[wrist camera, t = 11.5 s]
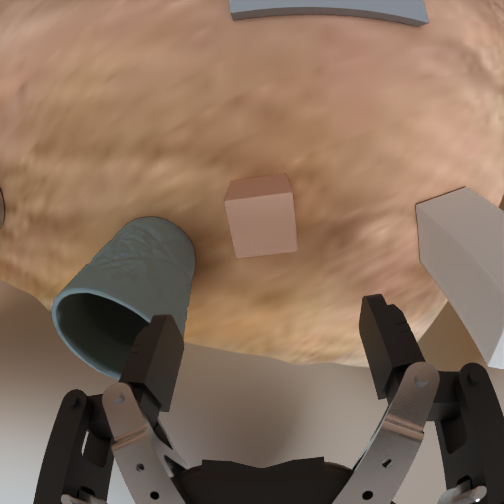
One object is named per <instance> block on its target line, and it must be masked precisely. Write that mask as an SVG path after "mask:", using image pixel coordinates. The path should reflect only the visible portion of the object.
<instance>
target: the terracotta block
mask: <svg viewBox="0 0 504 504" xmlns="http://www.w3.org/2000/svg"><path fill="white" fill-rule="evenodd" d="M224 203H225V208H226V213H227V218H228V222H229V227H230V232H231V237H232V241H233V246H234V251H235V255H236V259H238V258H246V257H255V256H263V255H272V254H280V253H289V252H297V251H298V246H297V234H296V223H295V212H294V202H293V192H292V189H291V186H290V184H289V181H288V178H287V175H286V173H284V174H275V175H267V176H260V177H252V178H245V179H238V180H232V181H231V182H230V185H229V188H228V191H227V194H226V197H225V200H224Z"/></svg>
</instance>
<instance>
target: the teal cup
mask: <svg viewBox="0 0 504 504" xmlns="http://www.w3.org/2000/svg"><path fill="white" fill-rule="evenodd" d="M195 264H196V259H195V252H194V248H193V246H192V243H191V241H190V240H189V238H188V237H187V235H186V234H185V233H184V232H183V231H182V229H180V228H179V227H177V226H176V225H175V224H173V223H172V222H169V221H167V219H160V218H158V217H143V218H138V219H135V220H133V221H131V222H129V223H128V224H126V225H125V226H124V227H123V228H122V229H121V230H120V231H119V232H118V233H117V234H116V235H115V237H114V238H113V239H112V240H111V241H109V242H108V243H107V244H106V245H105V246H104V247H103V248H102V249H101V250H100V251H99V252H98V253H97V254H96V255H95V256H94V257H93V259H92V261H91V263H89V264H86V265H85V266H84V267H83V268H82V269H81V271H80V272H79V273H78V274H77V275H76V276H75V277H74V278H73V279H72V280H71V281H70V282H69V283H68V284H67V286H66V287H65V288H64V289H63V290H62V291H61V292H60V293H59V294H58V295H57V296H56V298H55V300H54V302H53V306H52V317H53V322H54V325H55V327H56V330H57V332H58V334H59V335H60V337H61V338H62V340H63V341H64V343H65V344H66V345H67V346H68V347H69V349H70V350H71V351H72V352H73V353H74V354H75V355H77V357H79V358H80V359H82V360H83V361H84V362H86V363H87V364H88V365H90V366H91V367H93V368H94V369H96V370H97V371H99V372H101V373H103V374H105V375H107V376H109V377H112V378H115V379H118V380H119V379H120V377H121V374H122V372H123V369H124V366H125V364H126V361H127V359H128V356H129V354H130V353H131V352H130V351H131V349H132V347H133V346H134V345H133V344H134V342H135V339H136V337H137V335H138V334H139V333H140V331H141V330H142V329H143V328H144V327H149V324H150V322H151V319H152V317H153V316H154V315H162V314H171V315H172V316H173V318H174V320H175V322H176V324H177V326H178V329H179V331H180V333H181V335H182V337H183V339H184V330H185V322H186V319H187V307H188V306H189V299H190V294H191V287H192V284H191V281H192V279H193V276H194V270H195ZM180 365H181V363H180ZM179 368H180V367H179Z"/></svg>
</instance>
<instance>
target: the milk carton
mask: <svg viewBox="0 0 504 504" xmlns="http://www.w3.org/2000/svg"><path fill="white" fill-rule="evenodd" d="M416 214H417V224H418V236H419V252H420V262H421V263H422V264H423V266H424V267H425V268H426V270H427V271H428V272H429V274H430V275H431V276H432V278H433V279H434V280H435V282H436V283H437V285H438V286H439V287H440V289H441V290H442V292H443V293H444V294H445V296H446V297H447V299H448V300H449V301H450V303H451V305H452V306H453V308H454V309H455V311H456V312H457V314H458V315H459V317H460V319H461V320H462V322H463V323H464V325H465V327H466V328H467V330H468V331H469V333H470V335H471V336H472V338H473V340H474V341H475V343H476V345H477V347H478V348H479V350H480V352H481V354H482V356H483V358H484V360H485V361H486V363H487V365H488V367H493V368H499V369H504V211H502V210H501V209H499V208H498V207H497V206H495V205H494V204H492V203H491V202H489V201H488V200H487V199H485V198H484V197H482V196H481V195H479V194H477V193H476V192H474V191H473V190H471V189H470V188H468V187H464V188H462V189H459V190H456V191H453V192H450V193H447V194H445V195H442V196H439V197H436V198H433V199H431V200H428V201H425V202H422V203H419V204H417V205H416Z"/></svg>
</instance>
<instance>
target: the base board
mask: <svg viewBox="0 0 504 504" xmlns="http://www.w3.org/2000/svg"><path fill="white" fill-rule="evenodd" d="M229 5H230V11H231V15H232V18H233V20H239V19H246V18H254V17H263V16H275V15H294V14H327V15H345V16H357V17H366V18H374V19H381V20H387V21H393V22H399V23H404V24H408V25H413V26H417V27H418V26H421V25H425V24H428V23H429V20H428V16H427V12H426V8H425V4H424V1H423V0H229Z"/></svg>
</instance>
